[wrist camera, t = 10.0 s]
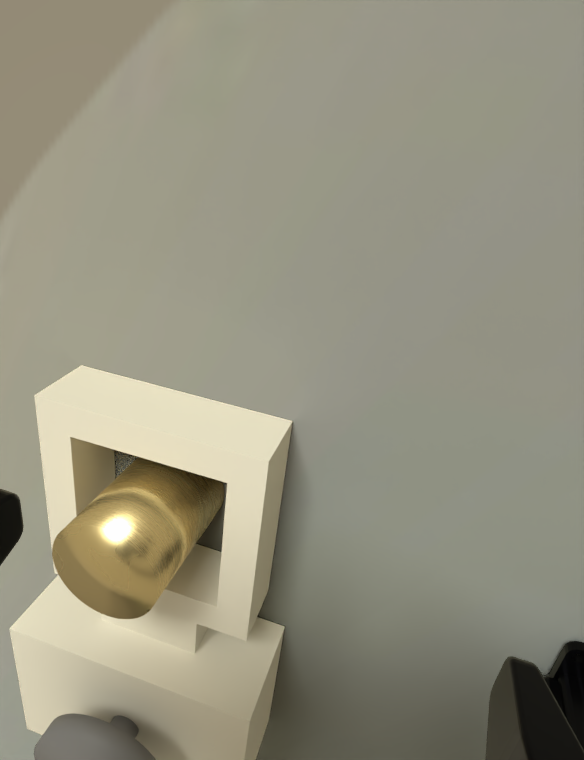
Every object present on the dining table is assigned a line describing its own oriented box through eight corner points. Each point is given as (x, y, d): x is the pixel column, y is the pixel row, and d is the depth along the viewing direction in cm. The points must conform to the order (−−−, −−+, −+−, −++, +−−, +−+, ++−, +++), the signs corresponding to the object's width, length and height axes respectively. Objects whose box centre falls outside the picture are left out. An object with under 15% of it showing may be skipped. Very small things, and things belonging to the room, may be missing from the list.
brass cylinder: (221, 532, 26) (157, 633, 21) (139, 507, 27) (57, 598, 22) (226, 454, 24) (156, 545, 19) (136, 430, 25) (46, 510, 20)
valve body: (318, 428, 22) (252, 560, 15) (268, 720, 31) (214, 881, 25) (59, 359, 24) (-93, 449, 18) (84, 649, 34) (-10, 779, 27)
